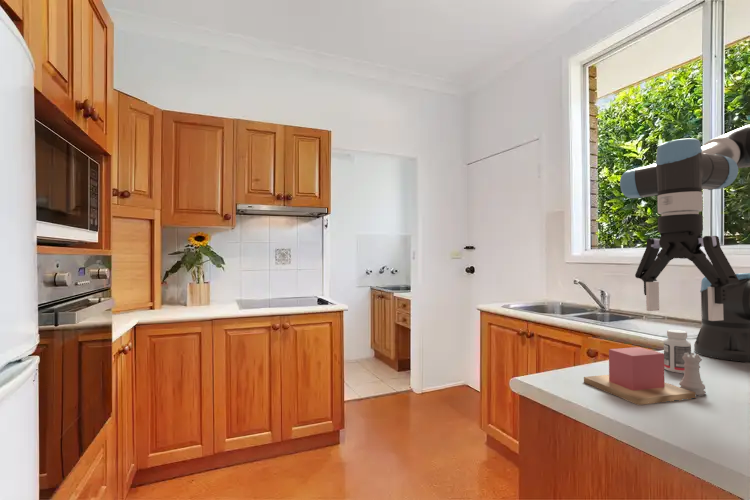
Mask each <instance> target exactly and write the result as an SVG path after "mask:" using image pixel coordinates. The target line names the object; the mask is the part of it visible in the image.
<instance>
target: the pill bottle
mask: <svg viewBox="0 0 750 500" xmlns="http://www.w3.org/2000/svg"><path fill="white" fill-rule="evenodd" d="M666 337H667V338H665V339H664V340H663V353H664V370H666V371H668V372H671V373H672V372H673V373H677V374H684V371H685V366H684V364H685V361H684V360H683V358H682V357H683V356H684V353H689V355H691V353H692V344H691V342H690V341H689V340H687V338H688V332H687V331H685V330H680V329H668V330H666Z"/></svg>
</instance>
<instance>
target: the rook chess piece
mask: <svg viewBox="0 0 750 500" xmlns="http://www.w3.org/2000/svg"><path fill="white" fill-rule="evenodd" d="M700 355H701V354H698V353H694V352H691V355H689V353H684V356H683V357H682V358H683V360H684V361H685V364H684V366H685V371H684V373H683V377H682V378H681V380H680V381H679V384H678V385H679V387H680V388H683V389H686V390H689V391H692V392H695V395H696V396H697V395H702V396H705V394H706V393H707V391H706V390H705V389H706V385H705V384H703V382H704V381H702V378H701V374H700V373H701V372H700V369H701V366H700V363H701V362H702V358H701V357H700Z"/></svg>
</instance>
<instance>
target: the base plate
mask: <svg viewBox="0 0 750 500" xmlns="http://www.w3.org/2000/svg"><path fill="white" fill-rule="evenodd" d="M583 383H584V384H587V385H590V386H592V387H594V388H597V389H599V390H602V391H604V392H606V393H608V394H610V395H613V396H616V397H618V398H620V399H623V400H625V401H627V402H629V403H632V404H635V405H637V406H642V405H650V404H657V403H659V404H660V402H661V403H667V402H666V401H670V402H675V401H674V400H679V401H683V400H682V399H688V400H692V399H691V398H697V397H696V396H697V395H695V392H692V391H689V390H686V389H683V388H680V387H681V386H677V385H674V384H671V383H669V382H665V387H663V388H653V389H643V390H630V389H628V388H625V387H622V386H620V385H617V384H615V383H612V382H609V374H601V375H591V376H584V377H583Z"/></svg>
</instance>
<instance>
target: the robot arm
mask: <svg viewBox="0 0 750 500" xmlns="http://www.w3.org/2000/svg"><path fill="white" fill-rule="evenodd" d="M743 168H750V124H747V125H744V126H742V127H739V128H736V129H734V130H731V131H729V132H727V133H724V134H721V135H719V136H717V137H714V138H711V139H709V140H708V141H706V142H705V143H704V144H703V145H702V144H701V141H700V140H699V139H698V138H690V137H688V138H680V139H679V138H678V139H673V140H669V141H665V142H662V143H661V144H659V145H658V147H657V149H656V161H655V163H652V164H649V165H646V166H645V165H644V166H642V167H635V168H633V169H629V170H626V171H625V172H623V174H622V175H621V176H620V180H619V186H620V191H621V193H622V195H623V196H624V197H626V198H627V199H643V198H647V197H653V196H654V197H655V196H656V197H657V214H659V215H660V216H659V217H658V218H657V231H658V233H659V234H660V238H659V237H658V238H657V237H655V238H652V237H651V238H650V237H649V238H647V239H646V248H645V251H644V253H643V255H642V258H641V260H640V262H639V265H638V268H637V269H636V272H635V275H634V276H635V278H636V279H640V280H642V282H643V294H644V296H645V299H646V301H645V302H646V305H645V306H646V312H647V311H648V312H656V311H658V312H659V311H660V287H659V284H660V282H659V281H658V280H657V278H658V277H659V275H660V274H661V273H662V272H663V270H665V267H667V265H668V264H669V263H670V262H671V261H673V260H674V259H681V260H682V259H687V260H688V261H690V262H692V263H693V264H694V266H695V267H696V268H697V269H698V271H700V273H701V274H702V275H703V278H702V279H701V281H700V282H701V283H700V291H699V292H700V309H701V310H700V312H701V313H700V314H701V327H700V328H699V331H698V334H697V335H696V338H695V341H694V345H693V346H694V347H693V349H694V352H695V354H699V355H701V356H704V357H709V358H714V359H719V360H726V361H734V362H746V363H750V272H745V273H744V272H743V273H736V272H735V271H734V269H733V267H732V265H731V264H730V262H729V260H728V258H727V257H726V254H725V253H724V251H723V249H722V248H721V244H720V237H719V236H718V235H704V236H703V237H702V234H701V233H702V232H703V230H704V224H703V223H704V221H703V215H702V214H701V213H700V212H702V211H703V210H704V209H703V207H704V206H703V190H707V191H713V190H722V189H724V188H727V187H729V186H730V185H732V184H733V182H735V180H736V179H737V177H738V175H739V174H738V173H739V169H743ZM701 247H703V249H704V251H705V252H704V251H703V250H702V249H701ZM660 248H661V250H660ZM705 253H706V254H705ZM707 257H708V258H707Z"/></svg>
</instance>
